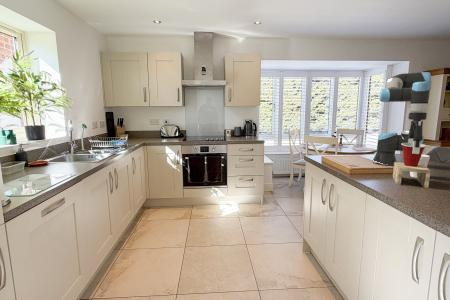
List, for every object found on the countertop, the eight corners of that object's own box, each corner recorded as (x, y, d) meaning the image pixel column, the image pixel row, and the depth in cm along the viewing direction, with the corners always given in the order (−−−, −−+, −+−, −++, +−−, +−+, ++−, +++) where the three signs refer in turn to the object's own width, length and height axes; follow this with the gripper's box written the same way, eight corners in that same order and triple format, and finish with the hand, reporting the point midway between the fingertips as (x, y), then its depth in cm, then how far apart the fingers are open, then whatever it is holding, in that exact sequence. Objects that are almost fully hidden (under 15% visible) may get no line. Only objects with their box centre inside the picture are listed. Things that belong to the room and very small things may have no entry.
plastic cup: (401, 166, 132) (403, 144, 130) (396, 162, 142) (399, 142, 140) (426, 168, 127) (429, 145, 126) (420, 164, 137) (423, 143, 135)
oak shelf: (392, 176, 146) (394, 161, 145) (419, 179, 140) (421, 164, 139) (397, 184, 130) (399, 167, 129) (428, 187, 125) (430, 170, 123)
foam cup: (426, 179, 141) (430, 157, 139) (406, 176, 146) (409, 155, 144) (426, 176, 148) (429, 155, 146) (407, 173, 154) (409, 153, 152)
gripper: (404, 112, 142) (400, 148, 146) (414, 111, 120) (408, 154, 124) (421, 112, 139) (416, 149, 142) (433, 111, 117) (427, 155, 120)
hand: (412, 151), depth 133 cm, fingers open, 13 cm apart
